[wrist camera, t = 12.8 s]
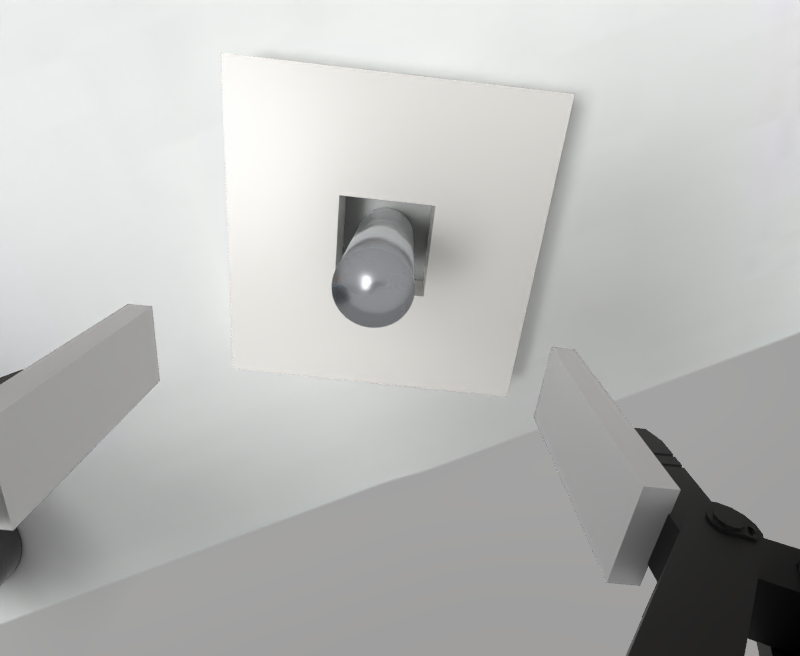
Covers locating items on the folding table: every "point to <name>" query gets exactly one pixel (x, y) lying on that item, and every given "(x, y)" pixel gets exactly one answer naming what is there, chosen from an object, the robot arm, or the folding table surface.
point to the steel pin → (377, 271)
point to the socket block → (393, 181)
